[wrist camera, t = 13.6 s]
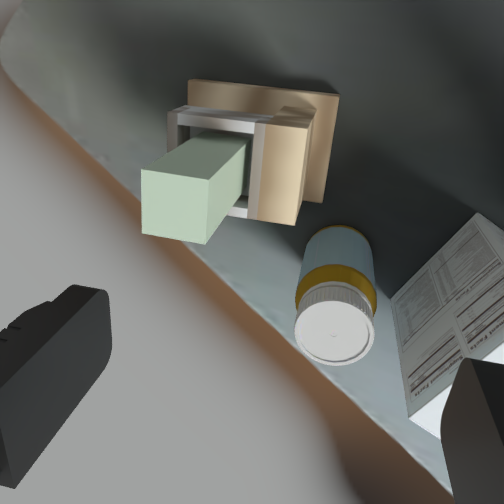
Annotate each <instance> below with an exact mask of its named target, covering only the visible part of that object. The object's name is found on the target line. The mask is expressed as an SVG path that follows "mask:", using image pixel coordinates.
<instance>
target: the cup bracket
mask: <svg viewBox="0 0 504 504" xmlns="http://www.w3.org/2000/svg"><path fill="white" fill-rule="evenodd" d="M339 97H340V94H332V93H323V92H314V91H304V90H295V89H286V88H277V87H267V86H258V85H249V84H240V83H231V82H221V81H212V80H203V79H191V80H188V105H184V106H182V107H179V108H176V109H174V110H171V111H169V112H167V153H168V152H170V151H172V150H173V149H175V148H177V147H178V146H180V145H182V144H183V143H185V142H186V141H188V140H190V139H191V138H193V137H195V136H196V135H198V134H199V133H201V132H203V131H204V132H211V133H218V134H225V135H232V136H239V137H246V138H251V147H250V157H249V167H248V177H247V187H246V188H245V189H244V191H243V192H242V194H241V195H240V196H239V198H238V199H237V201H236V202H235V203H234V205H233V206H232V208H231V209H230V210H229V212H228V213H227V215H228V216H234V217H241V218H248V219H254V220H261V221H267V222H274V223H280V224H287V225H294V226H295V223H296V219H297V216H298V213H299V209H300V206H301V203H302V200H303V201H310V202H317V203H322V202H323V196H324V190H325V184H326V178H327V171H328V165H329V159H330V153H331V146H332V140H333V134H334V128H335V122H336V115H337V109H338V103H339Z"/></svg>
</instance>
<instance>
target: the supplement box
mask: <svg viewBox="0 0 504 504" xmlns="http://www.w3.org/2000/svg"><path fill="white" fill-rule="evenodd" d="M390 301H391V307H392V314H393V320H394V326H395V333H396V339H397V346H398V352H399V359H400V365H401V372H402V378H403V385H404V391H405V398H406V405H407V412H408V418H409V419H410V420H411V421H413V422H414V423H416V424H417V425H419V426H420V427H422V428H423V429H425V430H426V431H428V432H429V433H431V434H433V435H434V436H436V437H437V438H439V439H440V440H441V436H440V424H441V416H442V412H443V409H444V406H445V403H446V401H447V398H448V395H449V393H450V390H451V387H452V384H453V382H454V379H455V376H456V374H457V371H458V368H459V366H460V363H461V362H462V360H463V359H464V358H466V357H467V358H472V359H478V360H483V361H489V362H494V363H500V364H504V231H503V230H502V229H500V228H499V227H497V226H496V225H495V224H493V223H492V222H491V221H489V220H488V219H486V218H485V217H484V216H482V215H481V214H479V213H476V214H475V215H474V216H473V217H472V218H471V219H470V220H469V221H468V222H467V223H466V224H465V225H464V226H463V227H462V228H461V229H460V230H459V231H458V232H457V233H456V234H455V235H454V236H453V237H452V238H451V239H450V240H449V241H448V242H447V243H446V244H445V245H444V246H443V247H442V248H441V249H440V250H439V251H438V252H437V253H436V254H435V255H434V256H433V257H432V258H431V259H430V260H429V261H428V262H427V263H426V264H425V265H424V266H423V267H422V268H421V269H420V270H419V271H418V272H417V273H416V274H415V275H414V276H413V277H412V278H411V279H410V280H409V281H408V282H407V283H406V284H405V285H404V286H403V287H402V288H401V289H400V290H399V291H398V292H397V293H396V294H395V295H394V296H393V297H392V298H391V300H390Z"/></svg>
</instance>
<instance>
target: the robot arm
mask: <svg viewBox="0 0 504 504" xmlns="http://www.w3.org/2000/svg"><path fill="white" fill-rule="evenodd" d="M111 334H112V333H111V319H110V307H109V296H108V293H107V292H106V291H105V290H102V289H97V288H91V287H86V286H80V285H71V286H70V287H68V288H67V289H66V290H65V291H64V292H62V293H61V294H60V295H59V296H58V297H57V298H56V299H54V301H52V302H50V301H46V302H44V303H42V304H40V305H38V306H36V307H33V308H31V309H29V310H27V311H25V312H24V313H22V314H21V315H20V316H19V317H17V318H16V319H15V320H14V321H13V322H11V323H10V324H9V325H8V328H7V329H5V328H4V329H3V330H2V331H1V332H0V485H1V486H5V487H9V488H13V489H15V488H16V487H17V485H18V484H19V483H20V481H21V480H22V479H23V477H24V476H25V475H26V473H27V472H28V471H29V469H30V468H31V467H32V465H33V464H34V462H35V461H36V460H37V459H38V457H39V456H40V455H41V453H42V452H43V451H44V449H45V448H46V447H47V445H48V444H49V443H50V441H51V440H52V439H53V437H54V436H55V435H56V433H57V432H58V430H59V429H60V428H61V427H62V425H63V424H64V423H65V421H66V419H67V418H68V417H69V416H70V414H71V413H72V412H73V410H74V409H75V408H76V406H77V405H78V404H79V402H80V401H81V399H82V398H83V397H84V396H85V394H86V393H87V392H88V390H89V389H90V388H91V386H92V385H93V384H94V382H95V381H96V380H97V378H98V377H99V376H100V374H101V373H102V372H103V370H104V369H105V367H106V365H107V363H108V361H109V358H110V355H111V350H112V335H111ZM440 436H441V443H442V448H443V452H444V456H445V461H446V465H447V470H448V474H449V478H450V483H451V487H452V492H453V496H454V500H455V504H504V364H500V363H494V362H489V361H483V360H478V359H472V358H467V357H466V358H464V359H463V360H462V362H461V363H460V366H459V368H458V371H457V374H456V376H455V379H454V382H453V384H452V387H451V390H450V393H449V395H448V398H447V401H446V403H445V406H444V409H443V412H442V416H441V424H440Z"/></svg>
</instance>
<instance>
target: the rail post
mask: <svg viewBox="0 0 504 504" xmlns="http://www.w3.org/2000/svg"><path fill="white" fill-rule="evenodd" d="M250 147H251V138H246V137H239V136H232V135H225V134H218V133H211V132H204V131H203V132H201V133H199V134H198V135H196V136H195V137H193V138H191V139H190V140H188V141H186V142H185V143H183V144H182V145H180V146H178V147H177V148H175V149H173V150H172V151H170V152H168V153H167V154H165V155H164V156H162V157H160V158H159V159H157V160H155V161H154V162H152V163H151V164H149V165H147V166H146V167H144V168H142V169H141V192H142V233H144V234H150V235H155V236H161V237H166V238H172V239H177V240H183V241H189V242H194V243H200V244H206V243H207V241H208V240H209V238H210V237H211V236H212V234H213V233H214V231H215V230H216V229H217V227H218V226H219V224H220V223H221V222H222V220H223V219H224V217H225V216H226V215H227V213H228V212H229V210H230V209H231V208H232V206H233V205H234V203H235V202H236V201H237V199H238V198H239V196H240V195H241V194H242V192H243V191H244V189H245V188H246V187H247V177H248V167H249V157H250Z"/></svg>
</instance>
